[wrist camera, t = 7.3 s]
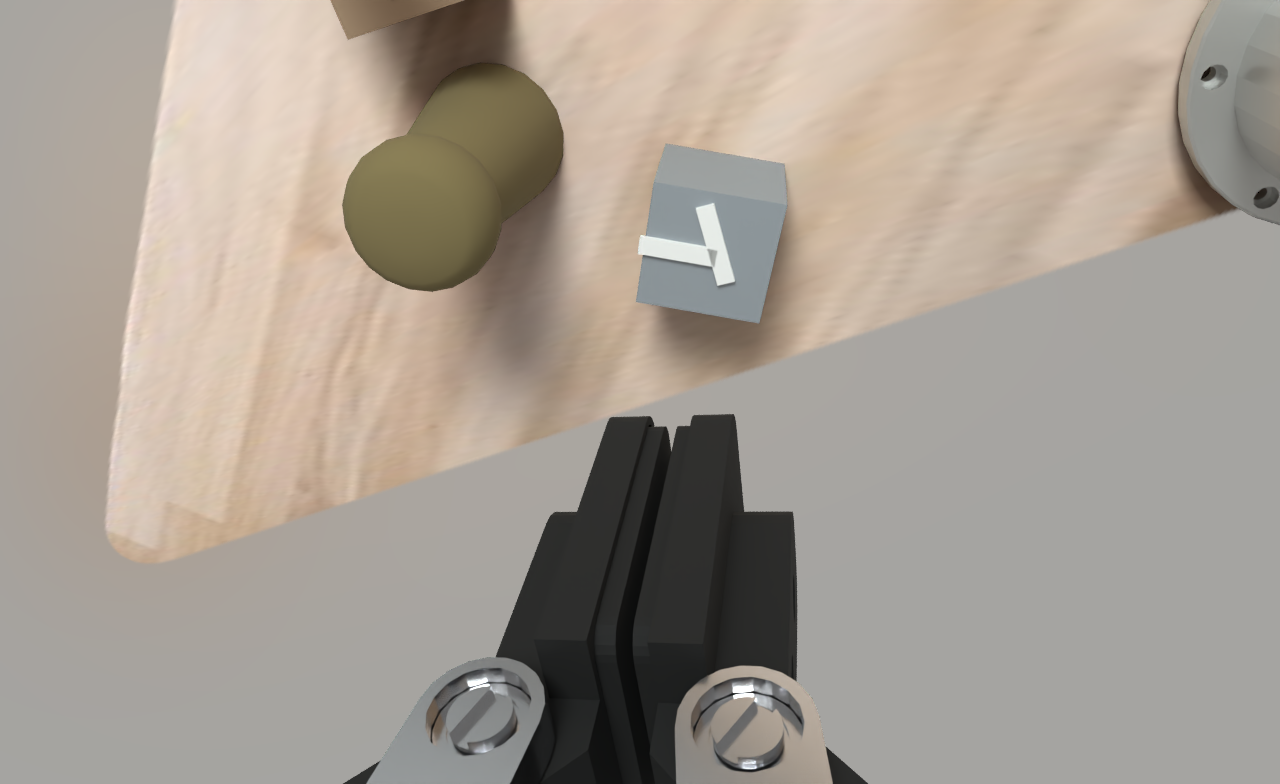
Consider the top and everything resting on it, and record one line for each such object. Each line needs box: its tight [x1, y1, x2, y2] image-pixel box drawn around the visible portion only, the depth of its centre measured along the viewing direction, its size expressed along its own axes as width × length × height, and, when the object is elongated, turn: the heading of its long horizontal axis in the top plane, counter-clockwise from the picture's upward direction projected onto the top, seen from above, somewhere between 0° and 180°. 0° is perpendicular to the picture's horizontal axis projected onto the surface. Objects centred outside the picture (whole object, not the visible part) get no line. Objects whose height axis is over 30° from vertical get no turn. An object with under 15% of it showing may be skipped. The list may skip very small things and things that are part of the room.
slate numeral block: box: [636, 144, 787, 323], centre depth 36 cm, size 5×5×5 cm
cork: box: [342, 63, 563, 292], centre depth 33 cm, size 6×6×11 cm
